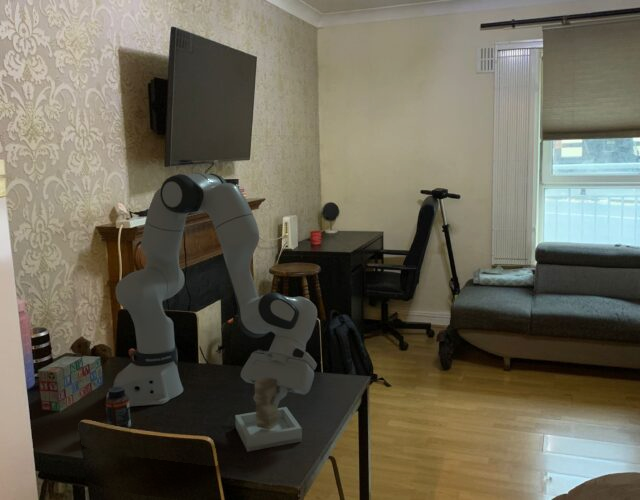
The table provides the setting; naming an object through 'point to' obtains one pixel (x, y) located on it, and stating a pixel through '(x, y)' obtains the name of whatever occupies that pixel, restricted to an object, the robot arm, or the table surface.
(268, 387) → the handle block
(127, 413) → the supplement bottle
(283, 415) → the tray
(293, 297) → the robot arm
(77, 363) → the stack of blocks
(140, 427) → the table surface
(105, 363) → the stuffed squirrel
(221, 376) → the table surface
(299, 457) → the table surface
